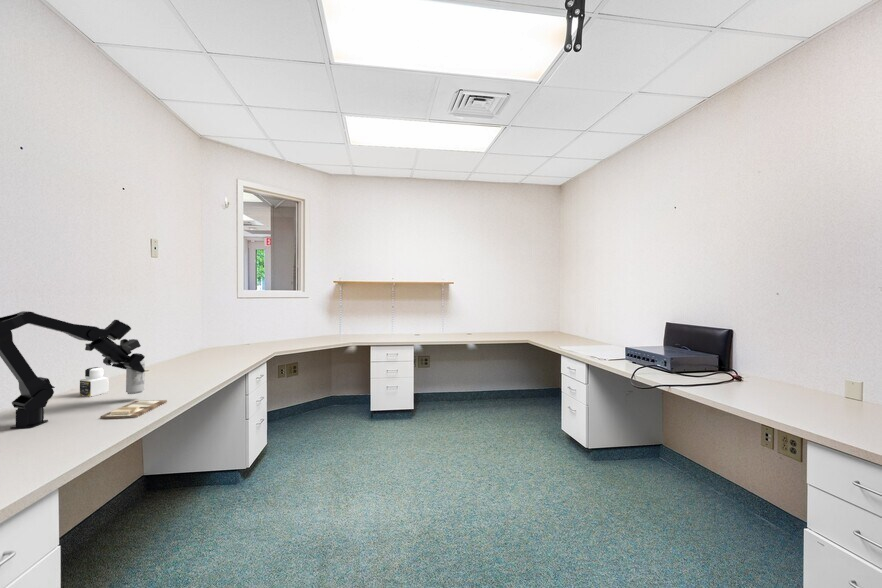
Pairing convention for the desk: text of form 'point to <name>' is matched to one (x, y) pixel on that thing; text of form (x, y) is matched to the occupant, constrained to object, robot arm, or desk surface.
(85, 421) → the desk surface
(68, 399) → the desk surface
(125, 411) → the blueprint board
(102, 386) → the medicine bottle
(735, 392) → the desk surface
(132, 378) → the energy drink can
